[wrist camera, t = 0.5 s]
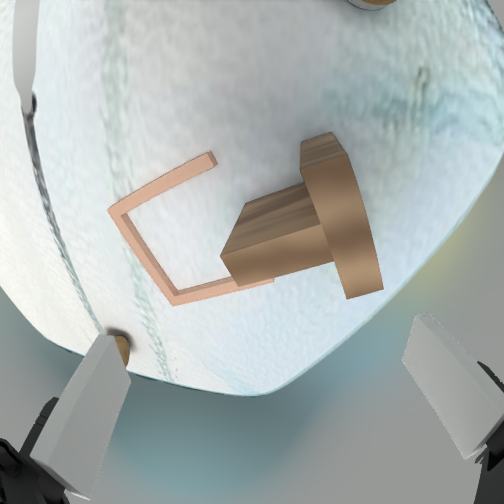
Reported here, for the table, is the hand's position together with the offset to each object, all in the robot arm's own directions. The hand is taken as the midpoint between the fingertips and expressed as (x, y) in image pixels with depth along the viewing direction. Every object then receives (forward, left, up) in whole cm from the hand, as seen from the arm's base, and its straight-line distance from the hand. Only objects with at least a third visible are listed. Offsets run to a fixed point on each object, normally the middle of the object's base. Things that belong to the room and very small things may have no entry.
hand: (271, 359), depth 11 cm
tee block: (+4, -1, -28) cm, 28 cm away
